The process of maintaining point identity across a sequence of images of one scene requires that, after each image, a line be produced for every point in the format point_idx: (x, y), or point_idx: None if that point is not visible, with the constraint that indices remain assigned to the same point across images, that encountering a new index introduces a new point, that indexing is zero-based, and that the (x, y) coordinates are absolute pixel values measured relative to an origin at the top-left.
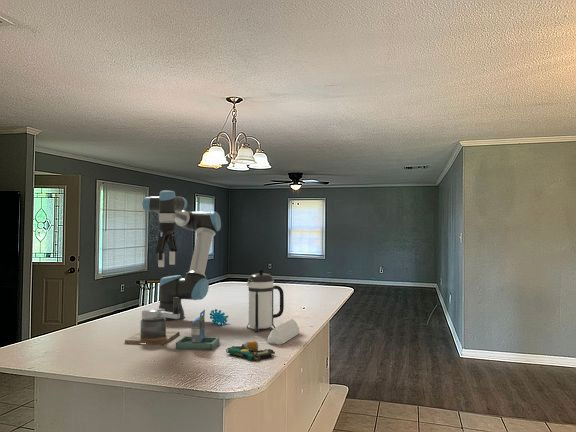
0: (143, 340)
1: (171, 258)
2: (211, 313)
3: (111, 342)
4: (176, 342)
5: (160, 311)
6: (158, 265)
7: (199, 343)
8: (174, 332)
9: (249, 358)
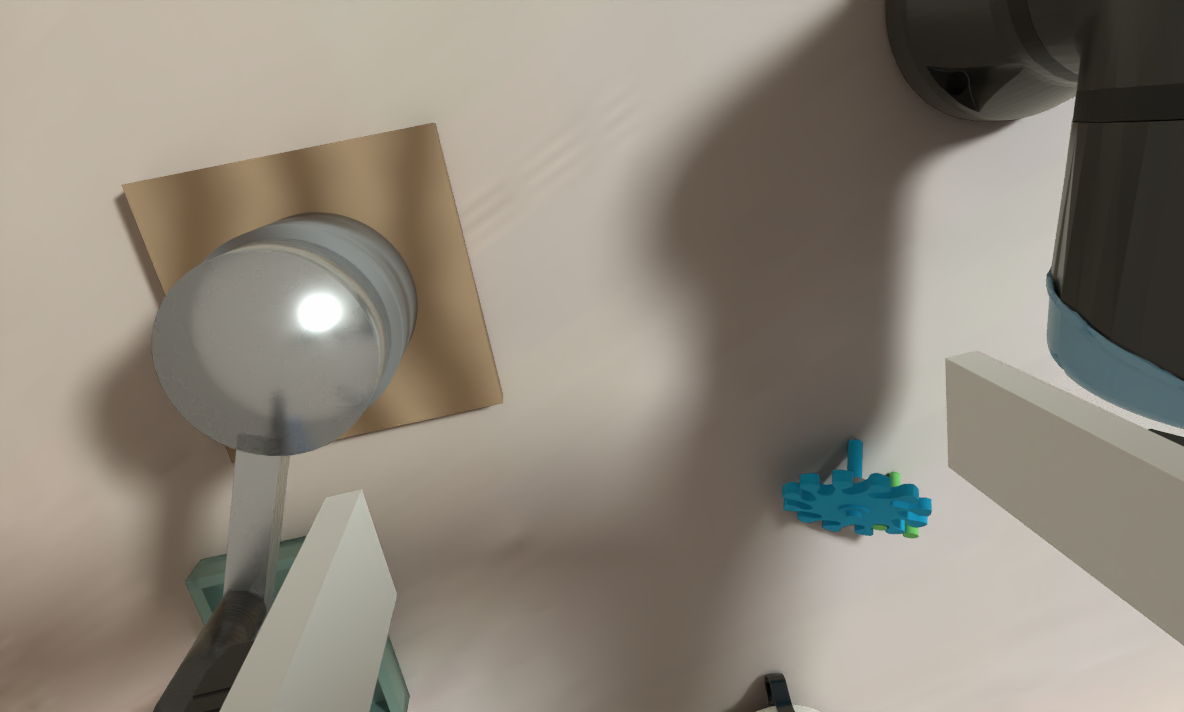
0: None
1: (1045, 466)
2: (842, 485)
3: (107, 59)
4: (193, 581)
5: (257, 446)
6: (321, 521)
7: None
8: (460, 389)
9: None
